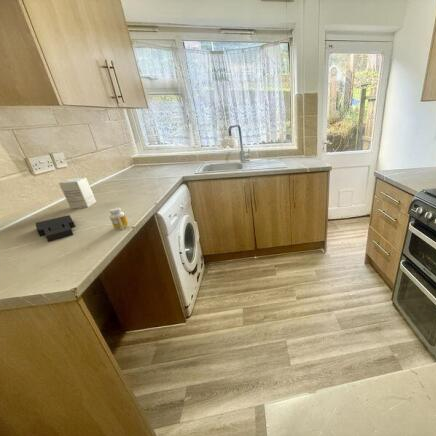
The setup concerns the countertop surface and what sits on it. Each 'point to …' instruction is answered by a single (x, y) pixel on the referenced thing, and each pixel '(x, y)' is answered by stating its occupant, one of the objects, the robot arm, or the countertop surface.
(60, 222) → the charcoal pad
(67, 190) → the rectangular carton
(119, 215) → the supplement bottle
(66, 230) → the black pad
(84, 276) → the countertop surface
